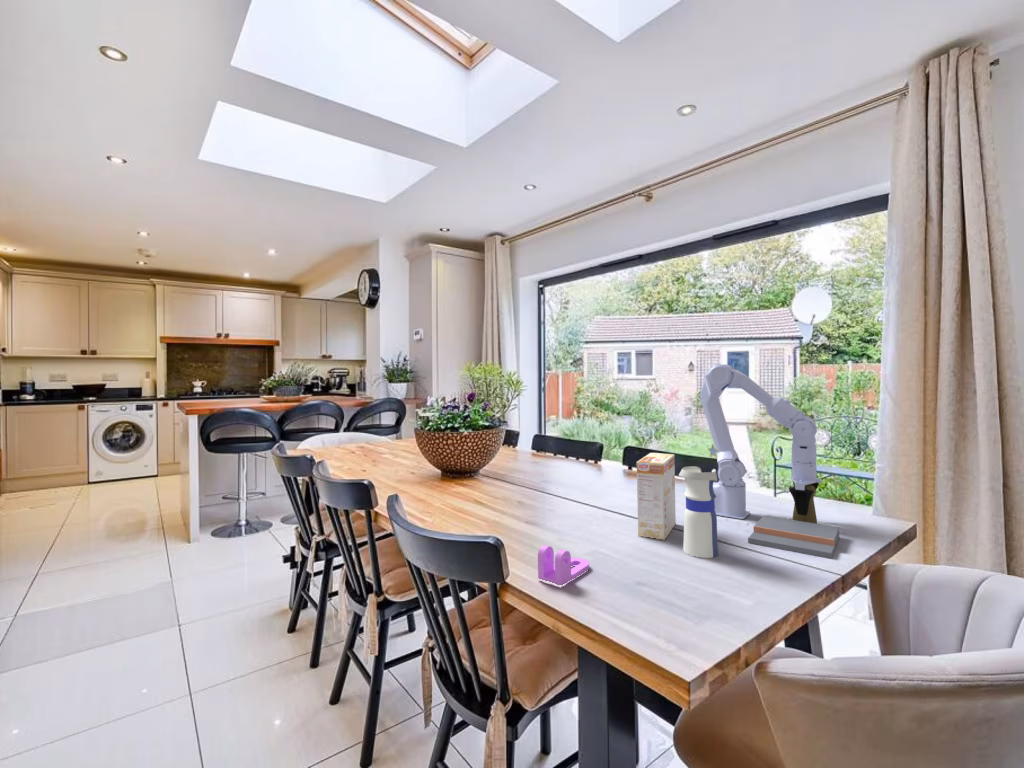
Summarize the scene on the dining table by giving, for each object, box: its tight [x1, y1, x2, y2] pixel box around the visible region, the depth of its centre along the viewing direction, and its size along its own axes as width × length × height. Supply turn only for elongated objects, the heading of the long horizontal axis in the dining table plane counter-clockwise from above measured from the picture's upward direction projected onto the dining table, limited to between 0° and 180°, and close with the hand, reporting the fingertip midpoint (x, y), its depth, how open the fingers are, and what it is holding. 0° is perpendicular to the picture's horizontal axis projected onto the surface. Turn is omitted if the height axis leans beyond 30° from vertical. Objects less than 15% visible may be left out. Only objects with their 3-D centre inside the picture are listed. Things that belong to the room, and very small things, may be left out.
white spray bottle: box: [678, 443, 719, 559], centre depth 112 cm, size 8×9×25 cm
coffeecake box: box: [636, 452, 677, 541], centre depth 127 cm, size 15×7×20 cm, turn 150°
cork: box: [791, 484, 818, 524], centre depth 130 cm, size 6×6×11 cm
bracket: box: [537, 544, 590, 585], centre depth 101 cm, size 13×6×7 cm, turn 141°
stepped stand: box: [747, 515, 840, 559], centre depth 118 cm, size 17×17×3 cm
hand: (804, 511), depth 130 cm, fingers open, 7 cm apart
